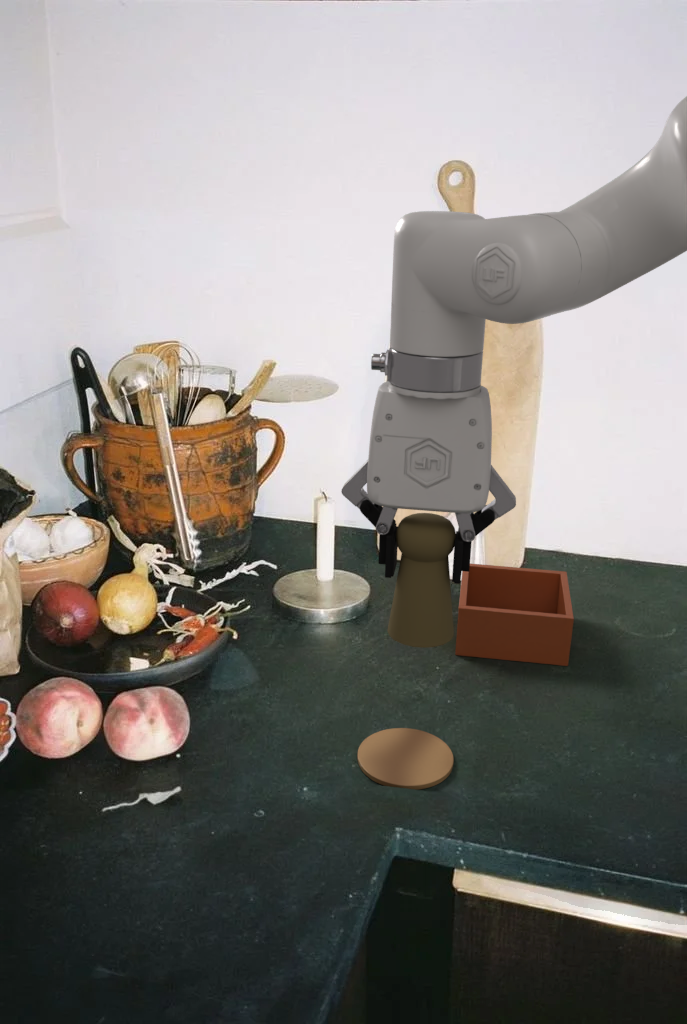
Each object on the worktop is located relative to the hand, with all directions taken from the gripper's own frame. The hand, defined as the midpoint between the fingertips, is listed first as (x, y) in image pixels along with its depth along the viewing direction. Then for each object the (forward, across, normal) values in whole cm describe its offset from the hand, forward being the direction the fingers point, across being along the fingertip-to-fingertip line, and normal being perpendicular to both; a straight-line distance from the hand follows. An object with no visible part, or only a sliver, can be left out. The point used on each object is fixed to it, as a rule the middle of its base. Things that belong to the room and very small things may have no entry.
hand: (423, 572), depth 82 cm
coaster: (+19, -1, -1) cm, 19 cm away
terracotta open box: (+19, +9, +26) cm, 33 cm away
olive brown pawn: (+6, 0, 0) cm, 6 cm away
